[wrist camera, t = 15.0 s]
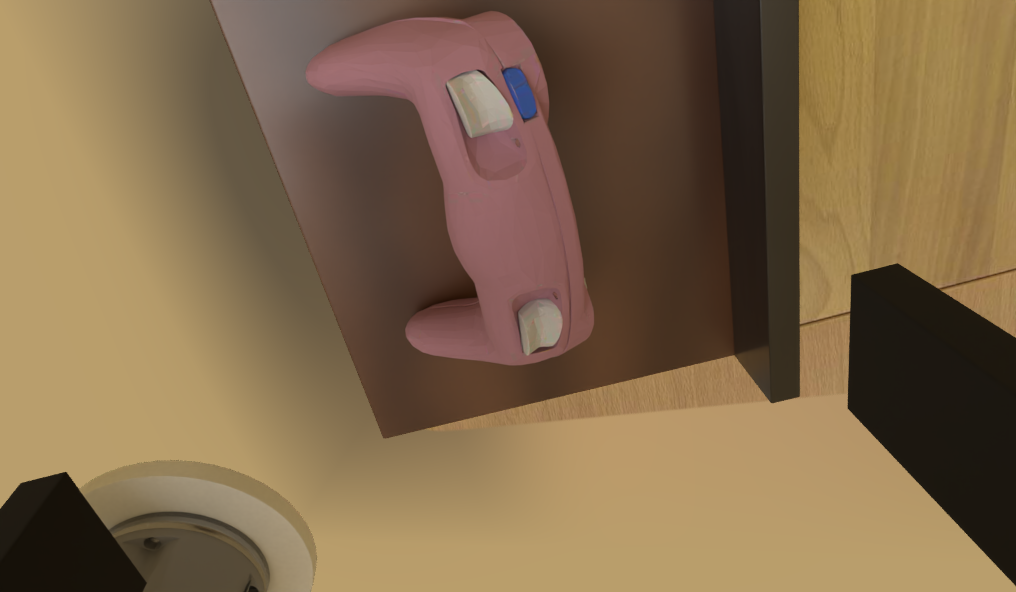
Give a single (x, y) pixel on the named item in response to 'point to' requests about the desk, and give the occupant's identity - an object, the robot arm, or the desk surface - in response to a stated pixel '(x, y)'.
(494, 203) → the video game controller
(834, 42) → the desk surface
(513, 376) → the shelf
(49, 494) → the robot arm
